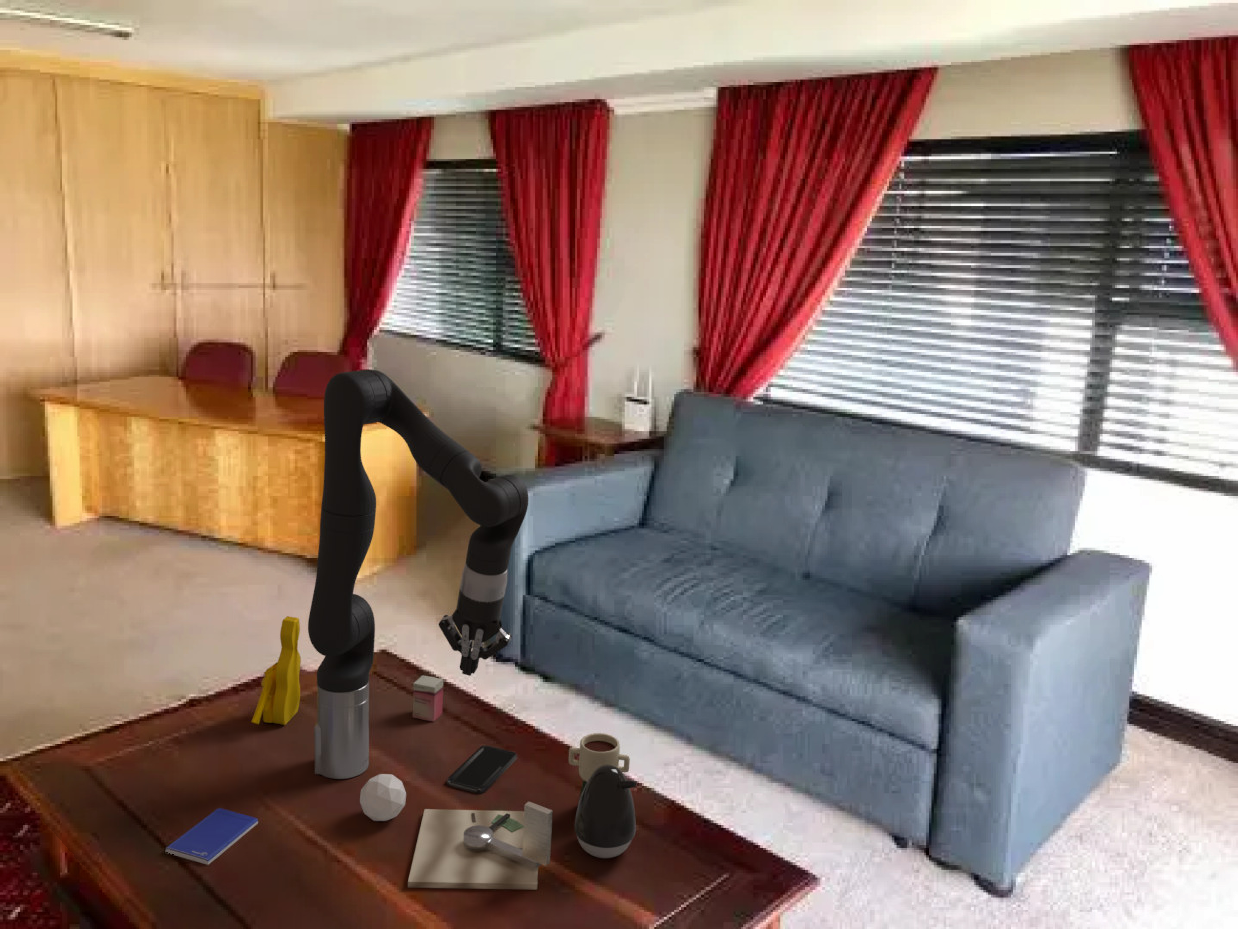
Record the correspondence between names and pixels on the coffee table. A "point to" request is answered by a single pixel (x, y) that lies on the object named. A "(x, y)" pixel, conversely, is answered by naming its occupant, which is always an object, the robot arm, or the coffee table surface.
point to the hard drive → (212, 836)
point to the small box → (427, 698)
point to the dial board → (468, 852)
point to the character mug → (597, 755)
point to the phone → (482, 769)
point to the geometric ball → (383, 797)
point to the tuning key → (533, 837)
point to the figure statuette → (282, 679)
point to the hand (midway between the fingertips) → (468, 672)
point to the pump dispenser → (606, 813)
